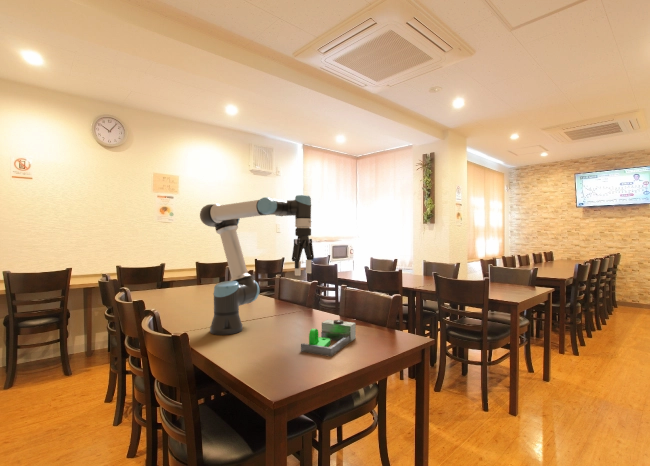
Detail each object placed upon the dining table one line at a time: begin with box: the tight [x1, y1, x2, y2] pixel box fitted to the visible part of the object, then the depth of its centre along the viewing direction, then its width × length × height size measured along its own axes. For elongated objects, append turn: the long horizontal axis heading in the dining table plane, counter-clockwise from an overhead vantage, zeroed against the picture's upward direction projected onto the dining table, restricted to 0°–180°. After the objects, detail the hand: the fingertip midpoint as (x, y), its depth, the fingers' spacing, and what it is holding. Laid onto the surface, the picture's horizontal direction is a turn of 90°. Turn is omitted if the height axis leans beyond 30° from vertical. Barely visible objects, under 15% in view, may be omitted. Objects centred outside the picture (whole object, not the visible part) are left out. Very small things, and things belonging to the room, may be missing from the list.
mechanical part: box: [308, 328, 331, 347], centre depth 143 cm, size 12×6×8 cm, turn 161°
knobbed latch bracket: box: [300, 319, 357, 357], centre depth 144 cm, size 14×25×8 cm, turn 154°
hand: (303, 274), depth 163 cm, fingers open, 10 cm apart
